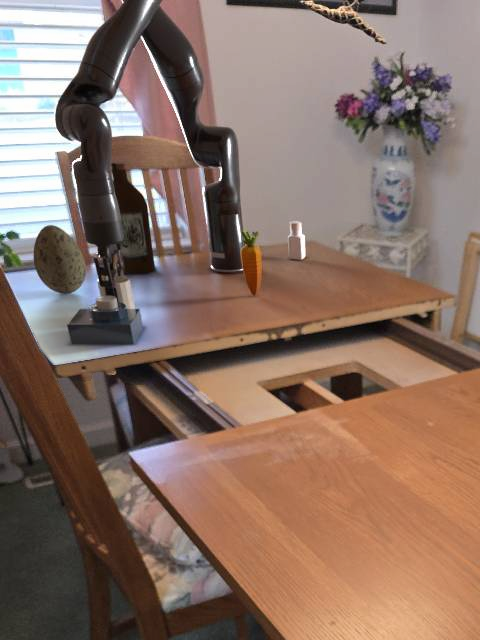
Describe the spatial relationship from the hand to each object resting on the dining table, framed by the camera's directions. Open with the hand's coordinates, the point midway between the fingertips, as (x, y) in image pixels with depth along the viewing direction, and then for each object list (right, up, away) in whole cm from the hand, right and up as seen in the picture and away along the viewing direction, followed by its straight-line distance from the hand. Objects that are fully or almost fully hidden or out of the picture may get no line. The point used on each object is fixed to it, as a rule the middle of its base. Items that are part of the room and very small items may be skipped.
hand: (117, 300), depth 153 cm
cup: (0, -3, +2) cm, 4 cm away
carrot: (+26, +7, +18) cm, 32 cm away
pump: (+2, -5, -11) cm, 12 cm away
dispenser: (+1, -10, -8) cm, 12 cm away
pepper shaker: (+32, +28, +49) cm, 65 cm away
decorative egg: (-18, +7, +15) cm, 24 cm away
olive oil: (-9, +19, +33) cm, 39 cm away
